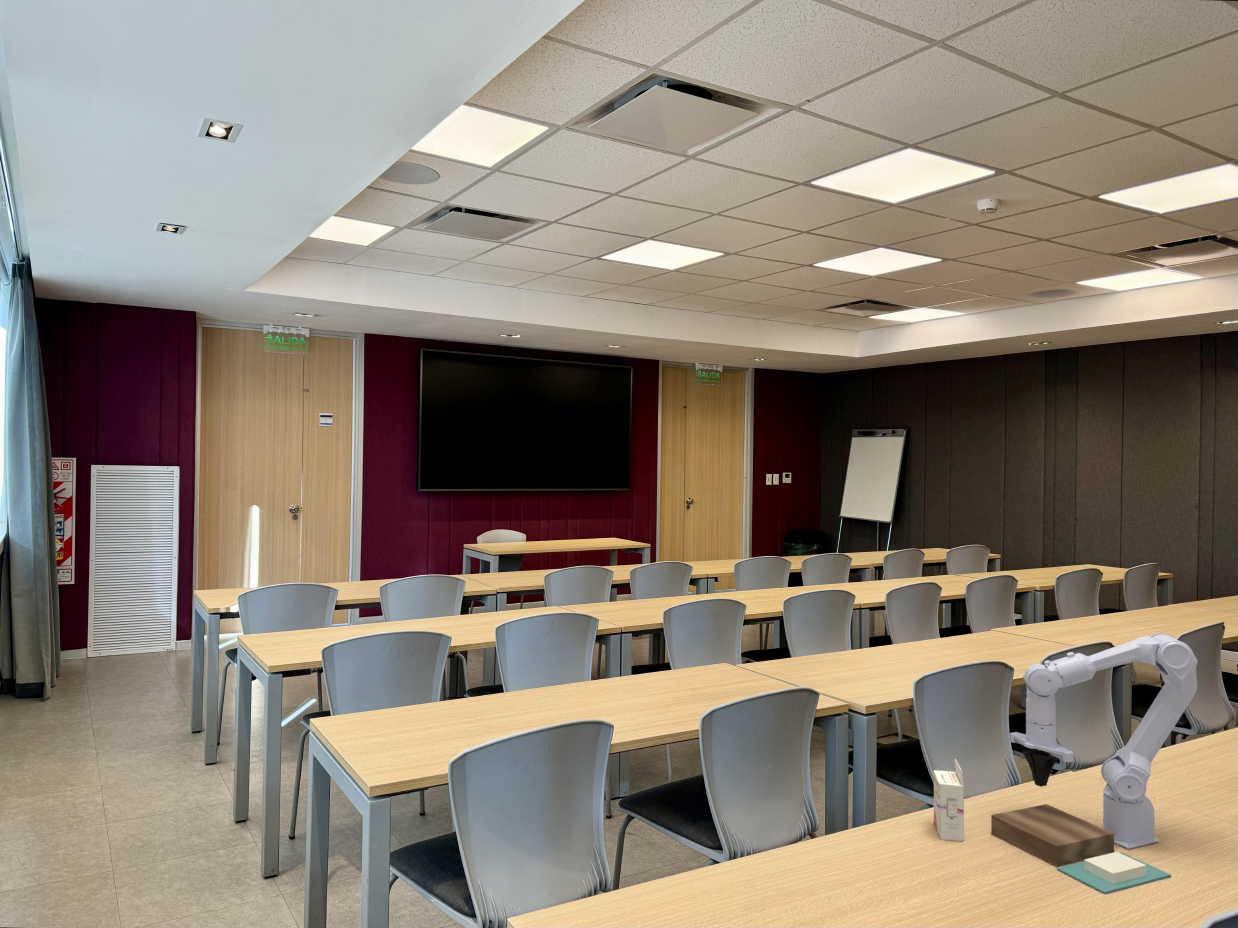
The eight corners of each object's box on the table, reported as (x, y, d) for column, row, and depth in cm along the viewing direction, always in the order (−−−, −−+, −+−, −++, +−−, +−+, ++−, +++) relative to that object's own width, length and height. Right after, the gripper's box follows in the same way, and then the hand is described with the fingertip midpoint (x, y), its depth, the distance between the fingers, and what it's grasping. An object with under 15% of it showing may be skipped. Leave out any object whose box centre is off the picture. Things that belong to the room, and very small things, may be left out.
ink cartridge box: (932, 823, 182) (932, 755, 182) (956, 825, 181) (956, 757, 181) (939, 839, 173) (939, 768, 174) (964, 842, 172) (964, 770, 173)
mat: (1121, 854, 167) (1121, 852, 167) (1171, 876, 158) (1171, 874, 158) (1056, 869, 160) (1056, 867, 160) (1104, 894, 151) (1104, 891, 151)
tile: (1146, 865, 157) (1146, 875, 157) (1116, 851, 163) (1116, 861, 163) (1113, 873, 154) (1113, 884, 154) (1084, 859, 160) (1084, 869, 159)
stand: (1046, 822, 182) (1046, 803, 182) (1114, 853, 168) (1114, 833, 168) (991, 833, 176) (991, 814, 176) (1056, 866, 162) (1056, 846, 162)
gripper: (999, 714, 185) (999, 775, 184) (1056, 733, 171) (1056, 799, 171) (1023, 711, 187) (1023, 771, 187) (1080, 729, 174) (1081, 794, 174)
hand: (1040, 784), depth 179 cm, fingers closed
